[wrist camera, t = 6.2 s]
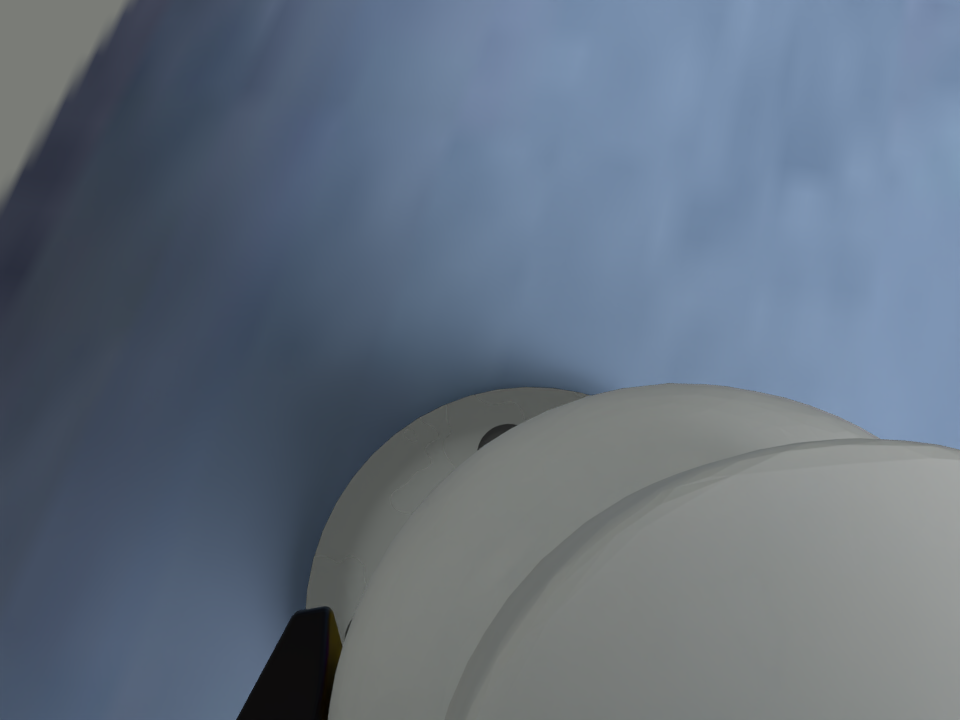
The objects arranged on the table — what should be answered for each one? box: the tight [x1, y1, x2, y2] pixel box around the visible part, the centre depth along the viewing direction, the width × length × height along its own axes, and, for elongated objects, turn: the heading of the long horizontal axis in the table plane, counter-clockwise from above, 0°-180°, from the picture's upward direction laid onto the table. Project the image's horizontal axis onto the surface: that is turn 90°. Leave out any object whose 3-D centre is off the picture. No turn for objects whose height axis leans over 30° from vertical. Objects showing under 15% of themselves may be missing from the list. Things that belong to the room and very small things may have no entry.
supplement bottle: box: [328, 383, 960, 720], centre depth 10 cm, size 7×7×13 cm
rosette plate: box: [306, 387, 590, 646], centre depth 20 cm, size 11×11×1 cm
